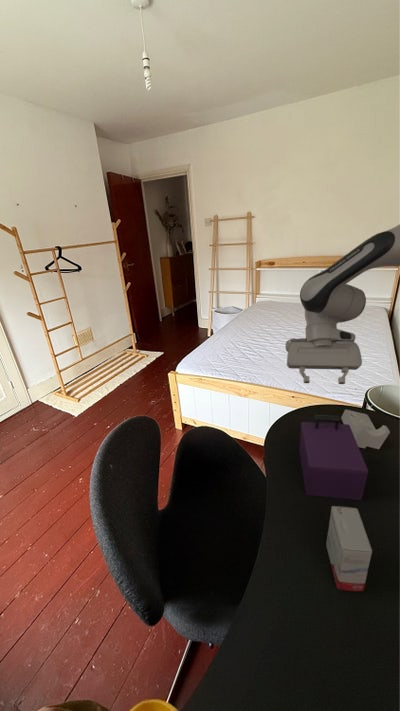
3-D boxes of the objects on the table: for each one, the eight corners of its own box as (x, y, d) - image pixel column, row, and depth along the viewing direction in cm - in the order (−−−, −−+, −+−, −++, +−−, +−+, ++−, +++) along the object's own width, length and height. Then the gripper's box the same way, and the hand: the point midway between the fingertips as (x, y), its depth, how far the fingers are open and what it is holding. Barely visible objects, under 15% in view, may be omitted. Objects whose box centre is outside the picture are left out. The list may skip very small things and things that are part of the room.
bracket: (377, 451, 85) (390, 432, 82) (352, 445, 86) (364, 425, 82) (362, 423, 97) (373, 404, 93) (341, 417, 97) (350, 399, 94)
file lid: (300, 424, 84) (302, 410, 82) (348, 426, 82) (351, 412, 79) (309, 468, 70) (310, 453, 67) (367, 473, 67) (371, 457, 65)
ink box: (364, 593, 54) (375, 553, 49) (334, 589, 55) (343, 550, 50) (349, 545, 62) (358, 507, 57) (324, 543, 63) (330, 504, 58)
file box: (299, 449, 87) (301, 426, 83) (345, 453, 85) (349, 428, 81) (306, 495, 73) (309, 468, 70) (361, 500, 71) (367, 473, 67)
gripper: (286, 334, 88) (287, 379, 84) (361, 334, 84) (366, 381, 79) (284, 342, 94) (285, 384, 89) (354, 342, 90) (358, 387, 85)
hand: (324, 383), depth 84 cm, fingers open, 8 cm apart
